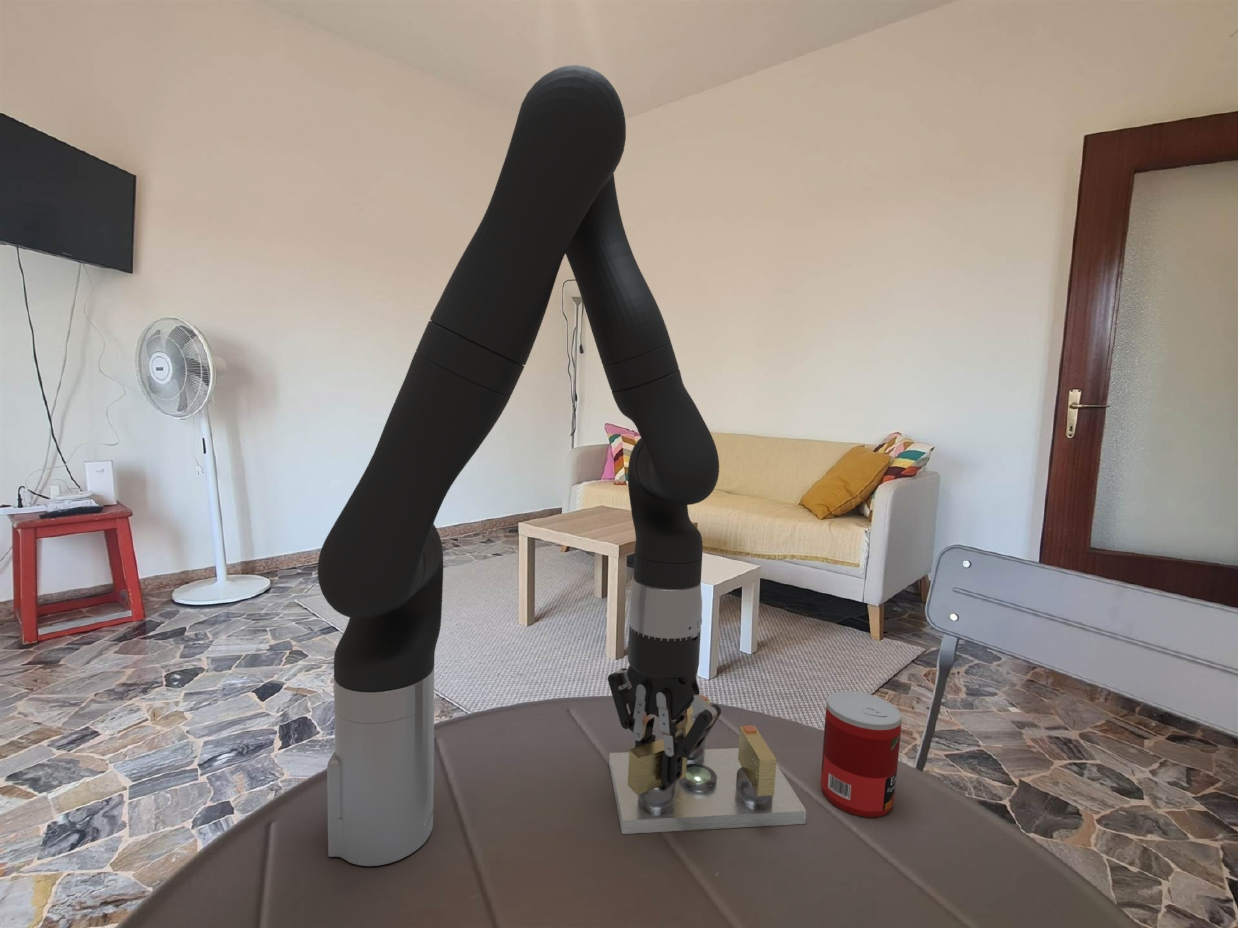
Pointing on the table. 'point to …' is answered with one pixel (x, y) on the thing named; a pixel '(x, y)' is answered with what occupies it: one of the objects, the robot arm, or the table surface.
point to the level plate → (704, 798)
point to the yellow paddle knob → (699, 753)
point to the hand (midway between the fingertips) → (657, 775)
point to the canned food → (860, 753)
